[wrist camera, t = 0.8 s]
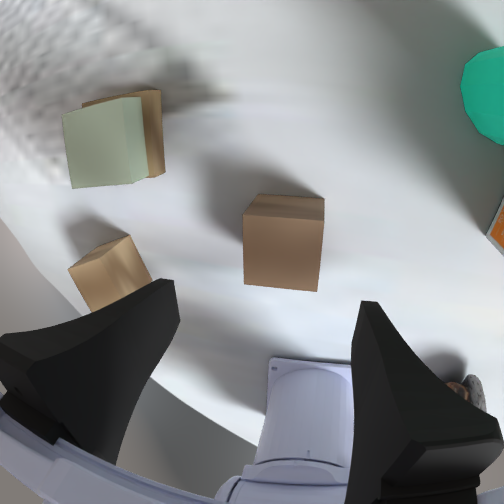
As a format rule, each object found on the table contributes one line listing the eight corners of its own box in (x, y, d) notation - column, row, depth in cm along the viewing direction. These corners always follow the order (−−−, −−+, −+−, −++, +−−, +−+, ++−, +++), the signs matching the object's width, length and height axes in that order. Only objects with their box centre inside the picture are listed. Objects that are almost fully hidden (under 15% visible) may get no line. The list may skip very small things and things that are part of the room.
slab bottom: (168, 170, 20) (154, 177, 18) (105, 173, 21) (89, 180, 19) (164, 90, 18) (148, 89, 16) (99, 101, 19) (81, 103, 17)
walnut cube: (319, 258, 20) (317, 291, 16) (258, 252, 21) (243, 284, 17) (324, 198, 18) (324, 221, 15) (258, 193, 19) (242, 214, 15)
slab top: (149, 175, 18) (132, 183, 17) (90, 180, 19) (72, 188, 18) (140, 96, 16) (122, 97, 14) (81, 111, 17) (61, 114, 15)
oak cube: (152, 279, 24) (127, 308, 20) (118, 287, 25) (92, 313, 22) (130, 234, 22) (99, 257, 19) (97, 246, 24) (67, 269, 20)
